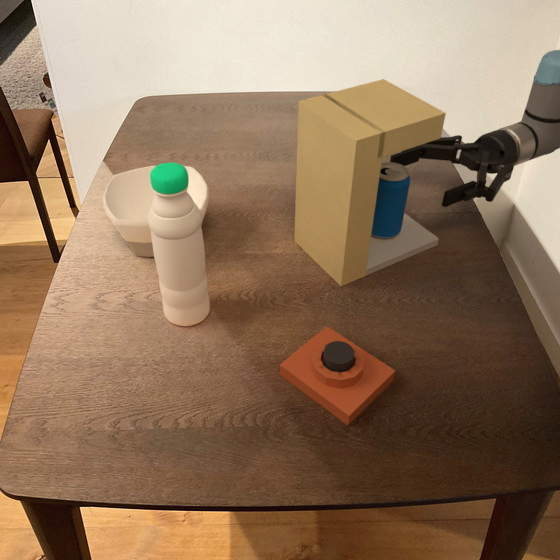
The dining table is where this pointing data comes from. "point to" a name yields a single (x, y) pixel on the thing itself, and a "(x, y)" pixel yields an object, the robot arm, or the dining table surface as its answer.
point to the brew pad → (337, 377)
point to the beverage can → (390, 200)
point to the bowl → (143, 205)
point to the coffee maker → (356, 175)
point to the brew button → (338, 356)
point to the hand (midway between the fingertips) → (416, 180)
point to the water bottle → (178, 246)
